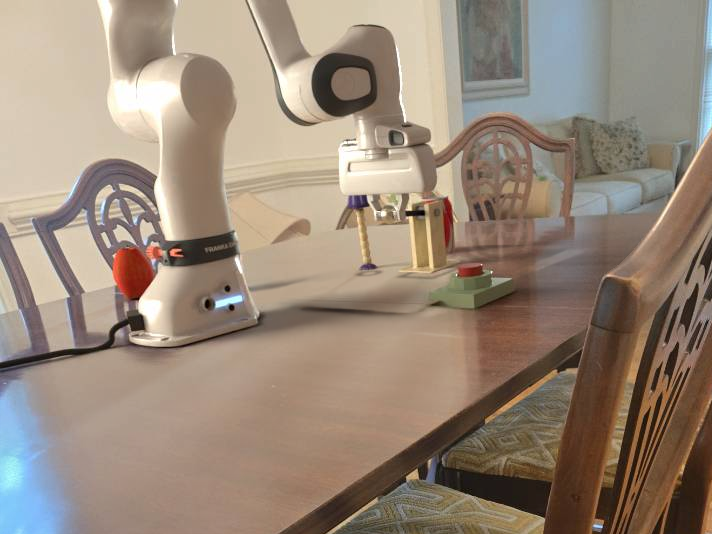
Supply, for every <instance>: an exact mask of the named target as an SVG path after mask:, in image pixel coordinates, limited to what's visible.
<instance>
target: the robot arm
mask: <svg viewBox="0 0 712 534" xmlns="http://www.w3.org/2000/svg"><path fill="white" fill-rule="evenodd" d="M178 1H179V0H96V3H97V6H98V9H99V12H100V15H101V20H102V24H103V29H104V36H105V42H106V48H107V56H108V65H109V75H110V77H109V78H110V79H109V85H108V89H107V96H106V100H107V101H106V102H107V103H106V104H107V108H108V111H109V114H110V116H111V119H112V121H113V122H114V124H115V125H116V127H117V128H118V129H120V131H121V132H122V133H124V134H125V135H127V136H129V137H131V138H132V139H136V140H139V141H142V142H145V143H149V144H158V145H159V167H158V174H157V177H156V179H155V182H154V186H153V192H154V197H155V201H156V206H157V210H158V214H159V217H160V222H161V226H162V230H163V234H164V235H163V236H164V238H165V239H164V240H163V243H162V244H163V245H162V247H160V246H158V245H155V246H154V245H148V246H147V247H146V250H145V252H146V257H148V258H149V259H150V260H160V259H161V265H162V267H161V268H160V270H159V271H158V272H157V274H156V275H155V278H154V280H153V281H152V283H151V284H150V286H149V287H148V288H147V290H146V291H145V292H144V294H143V295H142V296H141V297H140V298H139V300H138V305H137V306H138V307H137V308H138V309H132V310H126V311H125V313H126V318H125V319H122V320H120V321H118V322H117V323H115V324H114V325H112V327H111V328H110V329H109V331H108V339H107V340H106V341H105V342H104V343H102V344H100V345H97V346H92V347H82V348H81V347H80V348H78V347H77V348H64V349H59V350H54V351H48V352H44V353H39V354H33V355H29V356H24V357H19V358H15V359H14V358H13V359H9V360H5V361H0V370H3V369H7V368H12V367H17V366H21V365H26V364H32V363H36V362H41V361H45V360H46V361H47V360H51V359H56V358H60V357H65V356H66V357H67V356H78V355H85V354H89V353H95V352H99V351H104V350H107V349H109V348H111V347H112V346H113V345H114V343H115V342H116V341H115V340H116V333H117V332H118V331H119V330H121V329H123V328H124V327H127V326H129V329H130V332H131V333H129V334H128V338H129V342H131V343H132V344H135V345H139V346H146V347H155V348H156V347H157V348H167V347H170V348H171V347H180V346H184V345H188V344H192V343H195V342H199V341H202V340H206V339H209V338H213V337H217V336H221V335H224V334H228V333H231V332H233V331H238V330H242V329H246V328H249V327H252V326H256V325H258V323H259V321H258V318H259V317H260V315H261V313H260V311H259V310H258V308H257V306H256V304H255V301H254V299H253V297H252V294H251V292H250V288H249V287H248V283H247V280H246V277H245V274H244V269H243V270H242V266H241V262H240V253H241V249H240V248H241V247H240V244H239V239H238V234H237V231H236V230H235V229H234V228H233V223H232V218H231V212H230V207H229V202H228V195H227V191H226V183H225V150H226V149H225V148H226V139H227V132H228V128H229V126H230V124H231V122H232V120H233V119H234V117H235V113H236V110H237V102H238V101H237V99H238V98H237V90H236V86H235V83H234V81H233V79H232V76H231V74H230V73H229V72H228V70H227V69H226V67H225V66H224V65H223V64H222V63H221V62H220V61H218V60H217V59H215V58H213V57H211V56H208V55H204V54H199V53H191V52H179V53H176V50H175V40H174V39H175V37H174V23H175V17H176V14H177V11H178ZM244 1H245V4H246V6H247V9H248V12H249V14H250V16H251V19H252V22H253V24H254V26H255V29H256V32H257V33H258V36H259V39H260V41H261V44H262V46H263V48H264V51H265V54H266V56H267V58H268V61H269V64H270V67H271V71H272V75H273V76H272V77H273V81H274V82H273V83H274V89H275V90H274V91H275V97H276V100H277V103H278V106H279V107H280V110H281V111H282V113H283V114H284V115H285V117H286V118H287V119H288V120H290V121H291V122H292V123H294V124H296V125H298V126H301V127H312V126H316V125H318V124H321V123H325V122H327V123H328V122H334V121H338V120H342V119H346V118H347V117H349V116H351V115H352V116H353V123H354V131H355V138H352V139H350V138H347V139H343V141H342V143H340V145H339V147H338V157H339V158H338V180H339V181H338V182H339V190H340V191H341V193H342V195H344V196H345V197H348V196H351V195H367V201H368V203H369V205H370V206H369V207H370V208H371V210H372V212H373V215H374V221H375V222H383V220H382V219H381V215H380V214H381V210H382V208H383V207H382V205H381V203H380V200H381V195H395V200H396V201H398V202H397V206H396V209H397V210H395V211H393V215H394V221H395V222H403V221H406V219H407V217H406V213H405V211H406V209H407V208H408V205H409V201H410V194H424V193H429V192H432V191H434V190H435V189H436V187H437V184H438V174H437V173H438V172H437V165H436V158H435V153H434V149H433V148H432V146H431V145H430V144H428V143H430V142H431V140H432V133H431V130H430V129H429V128H428V127H425V126H422V125H419V124H416V123H413V122H411V121H409V120H406V114H405V109H404V105H403V103H402V94H401V92H402V88H403V87H402V86H403V82H402V72H401V65H400V57H399V52H398V47H397V44H396V40H395V37H394V35H393V33H392V32H391V30H389V29H388V28H386V27H384V26H382V25H380V24H379V25H378V24H372V23H371V24H370V23H368V24H364V23H360V24H355V25H352V26H350V27H348V28H347V31H346V32H345V34H343V36H342V37H341V38H340V39H339V40H338V41H337V42H335V43H334V44H333V45H332V46H330V47H328V48H327V49H325V50H324V51H322V52H321V53H318V54H315V55H311V54H310V53H309V51H307V49H306V47H305V45H304V43H303V40H302V38H301V34H300V33H299V30H298V27H297V24H296V22H295V19H294V16H293V14H292V11H291V8H290V5H289V3H288V0H244Z"/></svg>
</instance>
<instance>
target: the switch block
mask: <svg viewBox="0 0 712 534" xmlns="http://www.w3.org/2000/svg"><path fill="white" fill-rule="evenodd" d="M448 279H449V284H446V285H444V286H440V287H439V288H436V289H433V290H430V291H428V292H427V294H428V300H429V301H435V302H433V303H431V304H430V305H429V306H430V307H444V308H461V309H473V310H474V309H477V308H479V307H481V306H483V305H486V304H488V303H491V302H493V301H495V300H498V299H500V298H503V297H504V296H507V295H509V294H511V293H513V292H515V286H514V277H493V271H492V270H489V269H483V274H482V275H479V276H473V277H459V275H458V271H456V272H453V273H451V274H450V275H449V276H448Z"/></svg>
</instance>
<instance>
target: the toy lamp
mask: <svg viewBox="0 0 712 534" xmlns="http://www.w3.org/2000/svg"><path fill="white" fill-rule="evenodd" d="M368 207H371V206H370V205H369V203H368V201H367V195H351V196H347V209H348V210H355V215H356V216H357V217H356V222H357V224H358V225H357V229H358V233H359V236H358V237H359V240H360V247H361V254H362V257H363V258H362V261H363V263H364V264H362V265H360V267H359V269H358V270H359V271H371V270H375V269H377V268H378V266H377V265H376V264H375V263H372V262H373V261H372V260H373V259H372V257H371V249H370V242H369V235H368V232H367V229H368V228H367V224H366V217H365V208H368Z"/></svg>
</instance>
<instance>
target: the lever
mask: <svg viewBox="0 0 712 534" xmlns="http://www.w3.org/2000/svg"><path fill="white" fill-rule="evenodd" d="M395 210H397V207H395V206H394V205H392V204H386V205H384V206H383V207H382V210H381V214H380V215H381V219H382V220H383V221H382V222H383V223H385V224H387V225H392V224H394V223H396V221H394V215H393V211H395ZM405 213H406V218H407V217H408V218H409V216H417V220H426V217H425V206H417V210H411V211H408V210H405Z"/></svg>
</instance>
